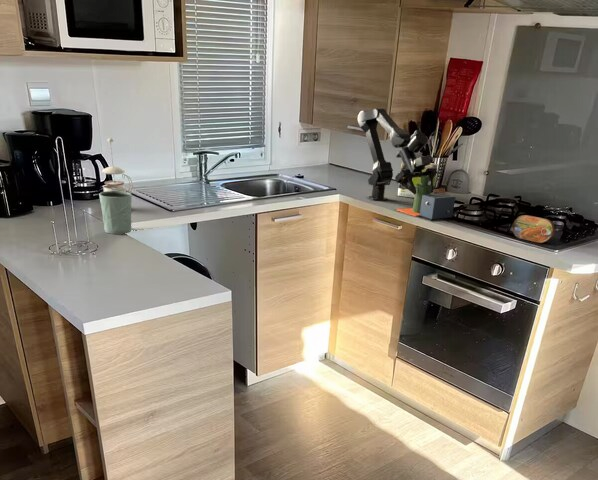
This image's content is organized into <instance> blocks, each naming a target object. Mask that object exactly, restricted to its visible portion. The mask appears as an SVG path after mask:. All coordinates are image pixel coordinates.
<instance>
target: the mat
mask: <svg viewBox="0 0 598 480" xmlns="http://www.w3.org/2000/svg"><path fill="white" fill-rule="evenodd" d="M396 211H397V212H401V213H402V214H406V215H409V216H412V217H419V215H420V213H416V212H413V207H405V208H396Z"/></svg>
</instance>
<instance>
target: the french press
mask: <svg viewBox="0 0 598 480" xmlns="http://www.w3.org/2000/svg"><path fill="white" fill-rule="evenodd" d="M108 142H109V143H110V145H112V143H114V139H113V138H112V137H109V138H108V139H107V143H108ZM112 149H113V148H110V154H111V155H113V150H112ZM113 159H114V158H111V164H112V166H107V167H105V168H103V169H102V170H101V173H103V174H105V175H113V177H115V175H121V177H122V179H124V180H125V179H126V178H127V180H128V182H129V184H130V186H129V187H128V190H127V188H126V186H124V185H125V182H124V181H121V180H108V181H107V180H106V181H104V184H105V185H104V186H103V190H104V191H103V192H106V191H122V192H128V193H132V190H133V187H131V186H133V181H132V179H131V177H130V176H128V175H127V174H125V172H126V171H125V170H124V169H122V168H120V167H118V166H115V165H114V161H113Z"/></svg>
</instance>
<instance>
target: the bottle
mask: <svg viewBox="0 0 598 480" xmlns="http://www.w3.org/2000/svg"><path fill="white" fill-rule="evenodd" d="M428 180H429V176H421V182H420V184H416V194H415V196H414V198H413V203H412V208H413V212H416V213H420V209H421V202H422V195H427V194H431V187H432V186H431V185H428Z"/></svg>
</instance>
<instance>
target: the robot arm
mask: <svg viewBox="0 0 598 480" xmlns="http://www.w3.org/2000/svg"><path fill="white" fill-rule="evenodd" d="M357 123H358V125H359V128H360V129H361V130H362V131H363V133H365V136H366V137H365V138H366V140H367V143H368V147H369V151H370V154H371V158H372V162H373V165H372V170H371V171H372V174H371V175H370V176H369V178H368V180H367V183H368V185H370V186H372V187H371V195H368V199H370V200H373V201H387V198H386V197H385V191H386V186H390V185H391V182H392V180H393V176H394V173H393V171H394V169H393V167H392V166H393V165H392V163H391V161H387V160H386V159H385V155H384V152H383V149H382V145H381V141H380V138H379V134H378V130H377V129H378V124H379V125H380V126H381V127H382V128H383V129H384V131H385V132H386V133H387V134H388V137H389V141H390V143H391V145H392V147H393V148H395V149H400V150H397V152H396V156H395V157H396V158H397V159H400V158H401V161H402V163H404V166H403V169H402V170H401V169H400V171H399V172H398V173H397V174H396V175H395V182H396V184H398V185H399V184H400V185H403V186H404V187H406V188H407V189H408V190H409V191H411V192H412V193H413V194H416V189H415V186H414V184H413V181H412V178H418V177H421V176H429V180H428V185H431V186H432V187H431V193H432V192H433V178H434V176H435V175H436V174H437V175H438V174H439V172H438V169H437V170H436V168H427V169H426V170H425V172H422V170H424V169H425V166H427V165H430V164H431V163H432V164H433V162H434V159H433V157H432V155H431V154H427V155H424V156H419V157H417V155H416V154H418V153H419V152H420V151H422V149H423V148H424V147H425V146H426V145H427V144H428V142H429V140H428V137H427V135H425V134H424V133H423V132H421V130H419V129H416V130H415V131H414V132H413V134H410V132H408V131H406V130H405V129H403V128H402V127H399V126H398V124H397V123H396V122H395V120H394V119H393V118H392V117H391V116H390V115H389V114H388V112H387V110H386V109H385V108H384V107H383V108H382V107H381V108H380V107H377V108H374V109H369V110H361V111H359V112H358V115H357ZM437 175H436V176H437Z"/></svg>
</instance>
